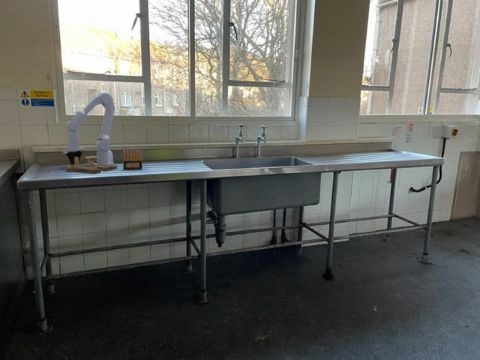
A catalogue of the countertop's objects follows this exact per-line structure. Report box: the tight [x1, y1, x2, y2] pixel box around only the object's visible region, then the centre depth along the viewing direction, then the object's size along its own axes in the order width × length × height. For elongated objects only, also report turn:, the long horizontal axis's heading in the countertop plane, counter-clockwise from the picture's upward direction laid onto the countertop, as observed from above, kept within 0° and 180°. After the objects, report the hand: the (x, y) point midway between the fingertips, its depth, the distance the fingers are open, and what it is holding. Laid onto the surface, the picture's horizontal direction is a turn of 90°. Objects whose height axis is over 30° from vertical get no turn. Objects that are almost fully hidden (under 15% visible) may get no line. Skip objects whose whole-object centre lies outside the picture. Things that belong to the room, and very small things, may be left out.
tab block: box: [70, 157, 80, 167], centre depth 213 cm, size 3×3×6 cm
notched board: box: [65, 162, 118, 175], centre depth 205 cm, size 18×20×2 cm
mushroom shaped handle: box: [84, 155, 97, 166], centre depth 208 cm, size 6×6×5 cm
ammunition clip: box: [122, 148, 143, 171], centre depth 209 cm, size 11×2×12 cm, turn 110°
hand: (74, 164), depth 213 cm, fingers closed on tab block, 3 cm apart
